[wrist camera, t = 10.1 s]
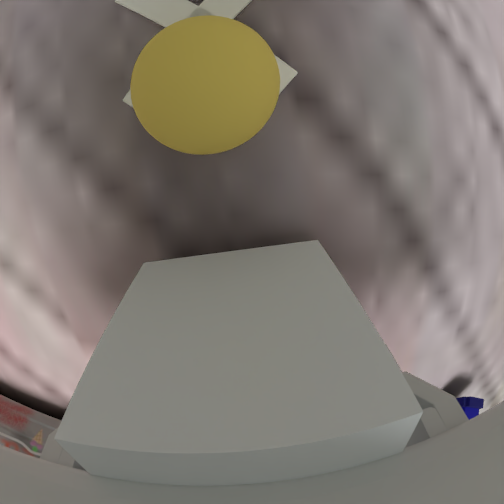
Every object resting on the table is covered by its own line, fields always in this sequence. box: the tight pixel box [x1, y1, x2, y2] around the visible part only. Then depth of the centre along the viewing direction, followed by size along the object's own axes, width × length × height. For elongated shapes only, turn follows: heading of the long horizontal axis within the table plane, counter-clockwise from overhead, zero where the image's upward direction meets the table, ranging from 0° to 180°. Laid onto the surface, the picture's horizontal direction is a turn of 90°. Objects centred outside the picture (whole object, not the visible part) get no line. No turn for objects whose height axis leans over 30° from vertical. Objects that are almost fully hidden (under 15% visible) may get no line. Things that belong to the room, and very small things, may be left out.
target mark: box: [115, 0, 298, 107], centre depth 10 cm, size 9×9×1 cm
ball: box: [130, 15, 280, 155], centre depth 9 cm, size 5×5×5 cm
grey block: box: [54, 240, 423, 486], centre depth 10 cm, size 7×7×9 cm
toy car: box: [0, 394, 62, 459], centre depth 16 cm, size 11×25×10 cm, turn 78°
